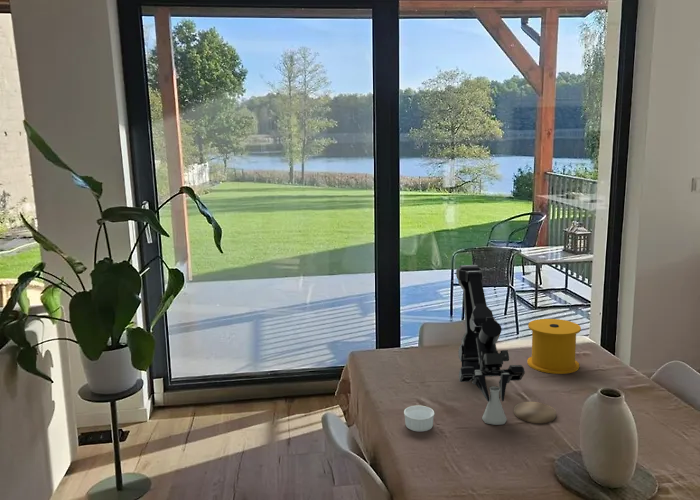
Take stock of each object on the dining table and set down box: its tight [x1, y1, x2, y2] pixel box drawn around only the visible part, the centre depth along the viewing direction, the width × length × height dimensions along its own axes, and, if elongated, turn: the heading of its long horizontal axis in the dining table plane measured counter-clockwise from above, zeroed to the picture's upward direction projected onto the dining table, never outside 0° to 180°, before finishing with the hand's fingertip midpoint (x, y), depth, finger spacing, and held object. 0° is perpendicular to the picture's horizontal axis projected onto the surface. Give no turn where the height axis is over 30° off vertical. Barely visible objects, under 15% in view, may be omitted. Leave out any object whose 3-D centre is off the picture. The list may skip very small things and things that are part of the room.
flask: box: [481, 385, 508, 426], centre depth 171 cm, size 7×7×10 cm
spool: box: [526, 318, 582, 375], centre depth 211 cm, size 18×18×15 cm
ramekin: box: [403, 405, 435, 433], centre depth 169 cm, size 9×9×4 cm
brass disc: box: [513, 401, 557, 424], centre depth 174 cm, size 12×12×1 cm
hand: (495, 401), depth 169 cm, fingers open, 4 cm apart
